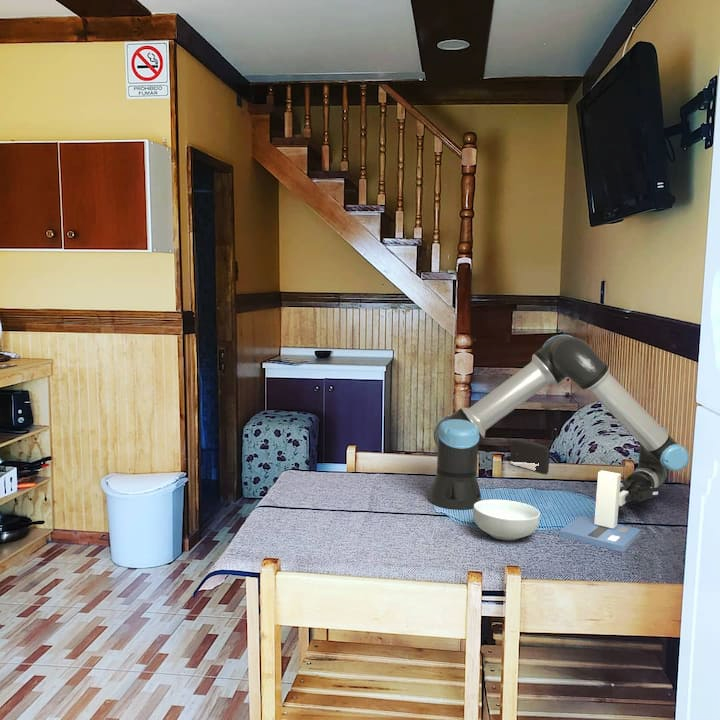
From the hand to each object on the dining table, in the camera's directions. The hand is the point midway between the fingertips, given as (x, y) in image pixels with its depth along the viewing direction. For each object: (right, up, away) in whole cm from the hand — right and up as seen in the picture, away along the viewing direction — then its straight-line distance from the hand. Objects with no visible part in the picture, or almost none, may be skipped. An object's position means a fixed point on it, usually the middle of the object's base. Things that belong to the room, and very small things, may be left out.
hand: (618, 500), depth 185 cm
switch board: (-8, -7, -8) cm, 13 cm away
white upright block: (-5, -5, -5) cm, 9 cm away
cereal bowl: (-33, -7, -10) cm, 35 cm away
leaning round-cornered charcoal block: (-10, -1, +57) cm, 58 cm away
